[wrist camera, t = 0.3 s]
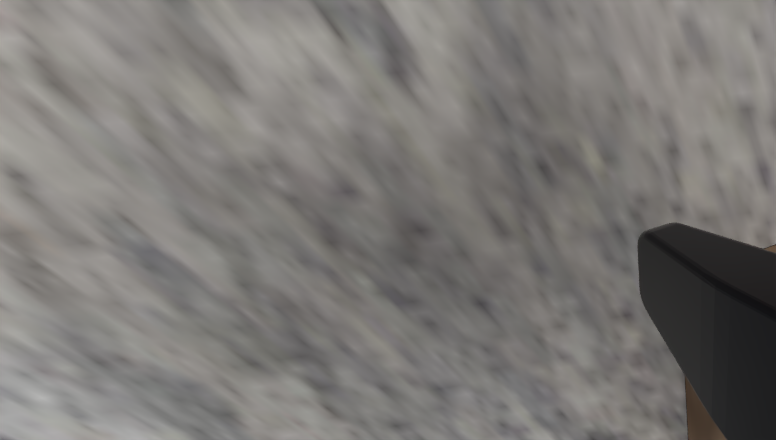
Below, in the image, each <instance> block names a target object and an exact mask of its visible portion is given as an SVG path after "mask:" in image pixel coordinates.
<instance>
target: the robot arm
mask: <svg viewBox="0 0 776 440" xmlns="http://www.w3.org/2000/svg"><path fill="white" fill-rule="evenodd" d="M638 265H639V288H640V294H641V298H642V301H643V304H644V306H645V309H646V310H647V312H648V314H649V316H650V317H651V319H652V321H653V322H654V324H655V326H656V327H657V329H658V331H659V332H660V334H661V336H662V337H663V339H664V341H665V342H666V344H667V346H668V348H669V349H670V351H671V353H672V354H673V356H674V358H675V359H676V361H677V363H678V364H679V366H680V368H681V369H682V371H683V373H684V374H685V376H686V378H687V379H688V381H689V383H690V384H691V386H692V388H693V389H694V391H695V393H696V395H697V396H698V398H699V400H700V401H701V403H702V404H703V406H704V408H705V409H706V411H707V412H708V414H709V415H710V417H711V419H712V420H713V421H714V423H715V424H716V426H717V427H718V428H719V430H720V431H721V432H722V434H723V435H724V437H725V438H726V439H727V440H776V253H775V252H771V251H768V250H765V249H762V248H758V247H755V246H752V245H749V244H745V243H742V242H739V241H736V240H732V239H729V238H726V237H723V236H719V235H716V234H713V233H710V232H706V231H703V230H700V229H697V228H693V227H690V226H687V225H684V224H680V223H669V224H665V225H662V226H659V227H656V228H653V229H649V230H646V231H644V232H643V233H642V234H641V235H640V236H639V239H638Z"/></svg>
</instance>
